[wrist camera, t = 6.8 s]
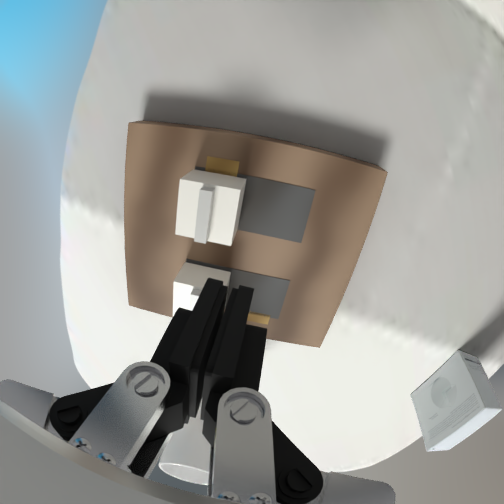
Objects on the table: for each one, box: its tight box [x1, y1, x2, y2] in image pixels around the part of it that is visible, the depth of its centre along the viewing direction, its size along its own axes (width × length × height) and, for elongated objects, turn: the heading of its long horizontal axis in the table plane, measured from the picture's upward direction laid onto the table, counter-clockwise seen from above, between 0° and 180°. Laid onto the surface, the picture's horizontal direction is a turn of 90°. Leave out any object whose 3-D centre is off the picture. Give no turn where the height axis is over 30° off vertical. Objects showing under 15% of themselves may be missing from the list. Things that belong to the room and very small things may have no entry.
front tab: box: [175, 169, 246, 246], centre depth 20 cm, size 4×4×4 cm
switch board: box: [124, 121, 388, 348], centre depth 25 cm, size 20×18×2 cm
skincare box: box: [411, 350, 502, 451], centre depth 28 cm, size 10×6×10 cm, turn 156°
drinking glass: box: [159, 400, 211, 485], centre depth 28 cm, size 7×7×15 cm
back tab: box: [173, 262, 231, 316], centre depth 24 cm, size 4×4×4 cm
